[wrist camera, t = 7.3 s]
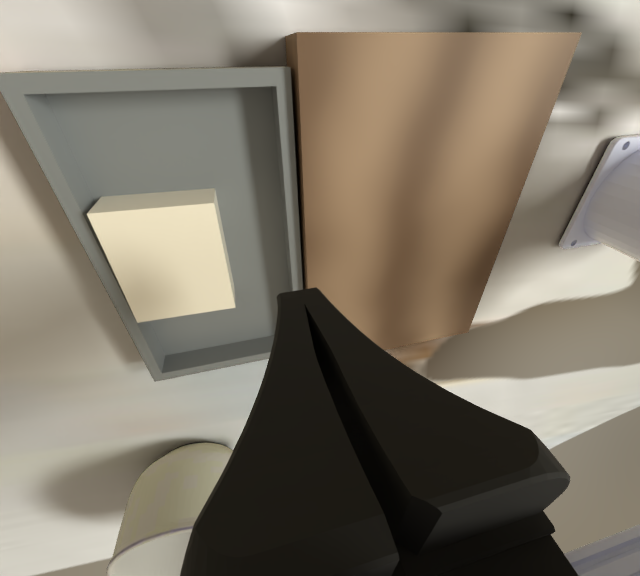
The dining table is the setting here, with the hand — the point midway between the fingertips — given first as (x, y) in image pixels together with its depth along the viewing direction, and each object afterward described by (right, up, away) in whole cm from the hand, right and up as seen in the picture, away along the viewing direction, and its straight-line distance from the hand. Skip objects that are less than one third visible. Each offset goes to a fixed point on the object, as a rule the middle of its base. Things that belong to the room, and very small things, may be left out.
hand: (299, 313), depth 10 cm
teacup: (-10, -15, +19) cm, 26 cm away
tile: (-6, +2, +4) cm, 8 cm away
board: (+5, +5, +9) cm, 12 cm away
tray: (-6, +3, +7) cm, 9 cm away
